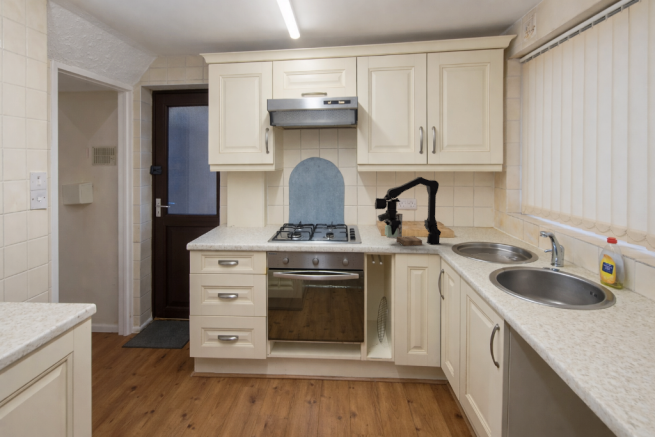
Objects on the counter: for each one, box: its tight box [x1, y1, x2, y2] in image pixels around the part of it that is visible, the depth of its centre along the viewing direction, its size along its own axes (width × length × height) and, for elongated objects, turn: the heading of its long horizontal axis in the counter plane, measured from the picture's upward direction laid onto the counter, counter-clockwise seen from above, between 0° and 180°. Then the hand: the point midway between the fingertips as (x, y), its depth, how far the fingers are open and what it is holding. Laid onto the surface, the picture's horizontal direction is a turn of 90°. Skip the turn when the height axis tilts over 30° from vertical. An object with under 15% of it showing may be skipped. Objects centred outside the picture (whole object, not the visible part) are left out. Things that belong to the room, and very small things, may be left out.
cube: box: [384, 224, 398, 238], centre depth 222 cm, size 6×6×6 cm
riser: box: [396, 235, 423, 247], centre depth 225 cm, size 12×12×3 cm
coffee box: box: [388, 212, 403, 239], centre depth 242 cm, size 9×6×16 cm
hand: (391, 233), depth 222 cm, fingers closed on cube, 6 cm apart
